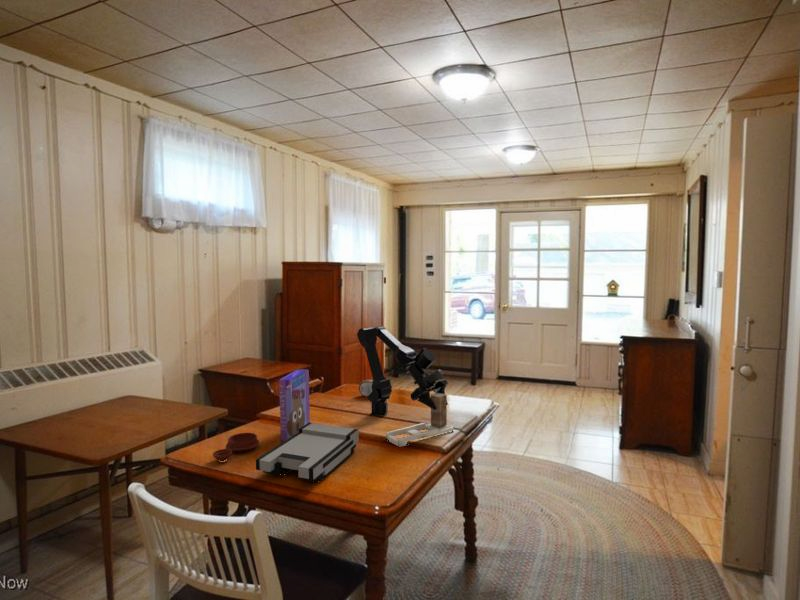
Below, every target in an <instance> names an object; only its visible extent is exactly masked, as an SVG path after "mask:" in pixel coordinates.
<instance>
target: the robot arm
mask: <svg viewBox="0 0 800 600" xmlns="http://www.w3.org/2000/svg"><path fill="white" fill-rule="evenodd" d="M356 336H357V339H358V342H359V344H360V345H361V346H362V348H364V352H365V354H366V358H367V362H368V365H369V369H370V373H371V377H372V380H373V382H372V392H371V393H370V395H369V396H368V397H367V398H368V401H369V402H370V403H371V412H370V415H371V416H379V417H384V416H386V415H387V413H388V412H389V410H388V409H389V407H388V406H389V403H388V402H387V400H389V399H390V396H391V394H392V393H393V386H392V384H391V380H390V379H389V378H386V377H385V375H384V371H383V368H382V365H381V360H380V357H379V353H378V350H377V341H378V339H379V340H381V342H382V343H384V344H385V346H387V347H388V349H390V350H391V351H392V352H393V353H394V357H395V359H396V360H397V361H398V363H399V364H400V365H402V366H405V365H408V366H405V369H404V374H410V375H411V377H412V378H413V380H414V382H413V384H414V385H415V386H416V385H417V386H418V387H416V388H415V389H414V390H413V391H412V392H411V393H410V399H411V401H412V402H416V401H417V402H419V403H421V404H423V405H425V406H427V407H428V408H430V409H431V408H432V409H433V410H436V409H437V408H436V406H435V404H434V403H433V401H432V399H431V393H430V392H434V394H436V393H441V394H445V395H446V393H445V391H446V388H447V386H448V385H449V382H448V381H447V379H445V378H443V377H444V372H443V371H442V369H440V368H439V369H437V370H435V371H434V373H431V372H426V371H425V370H427V369H428V368H429V367H430V366H431V365H432V364H433V363H434V362H435V361H436V355H435V353H434V352H432V351H430V350H429V349H427V348H426V347H424V348H422V349H420V351H419V352H416V351H415V350H414V349H412V348H411V347H410V346H406V345H404V344H402V343H401V342H400V341H399V340H398V338H396V337H395V336H393V334H391V333H390V331H388V330H387V328H386V327H385V326H383V325H382V326H381V325H380V326H375V327H371V326H369V327H363V328H360V329H358V330H357V333H356ZM448 405H449V404H448V402H447V406H448Z"/></svg>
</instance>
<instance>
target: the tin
mask: <svg viewBox="0 0 800 600" xmlns="http://www.w3.org/2000/svg"><path fill="white" fill-rule="evenodd" d="M372 382H373V379H363V380H361V382H359V385H358V391H359V393H360V395H361V396H363V397H367V398H368V396H369V395H370V393H371V392H372Z"/></svg>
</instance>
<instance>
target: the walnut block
mask: <svg viewBox="0 0 800 600" xmlns="http://www.w3.org/2000/svg"><path fill="white" fill-rule="evenodd" d="M447 395H448V394H446V393H445V394H441V393H436V394H435V393H433V394H430V398H431V399H432V401H433V403H434V404H435V406H436V408H437V409H436V410H433V409H432V408H430V423H431V426H434V427H438V428H441V427H444V426H446V425H447V423H448V422H447V419H448V418H447V416H448V415H447V413H448V412H447V410H448V405H447V403H448V400H447Z"/></svg>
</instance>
